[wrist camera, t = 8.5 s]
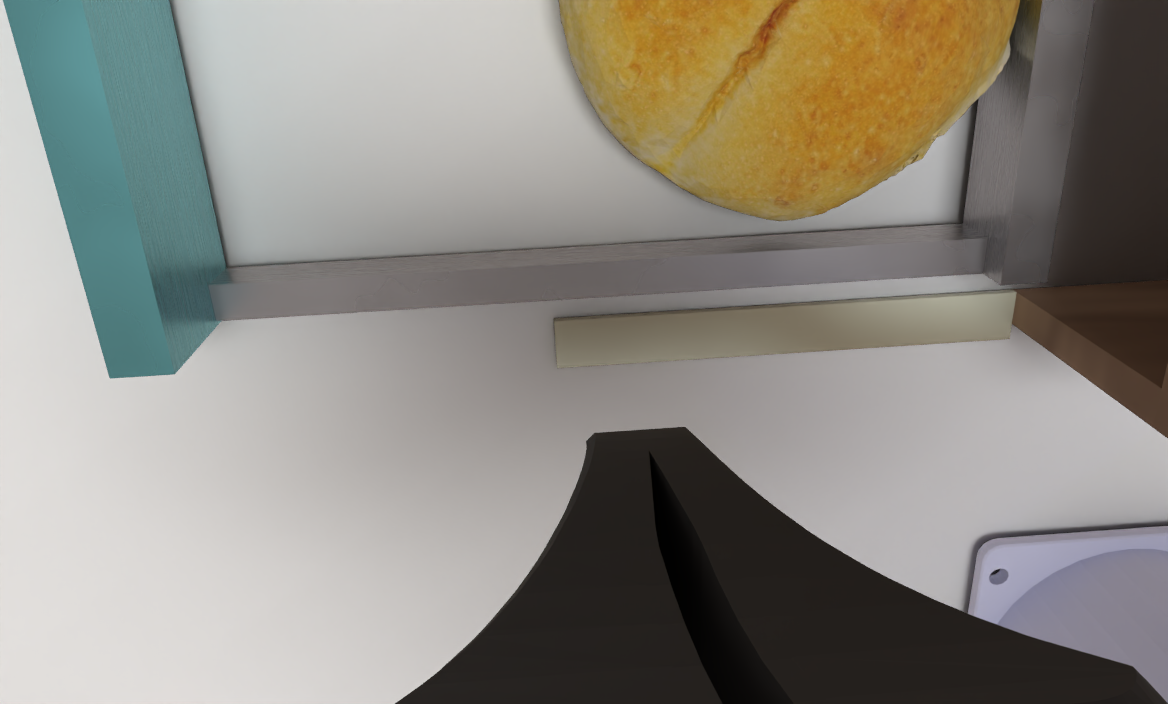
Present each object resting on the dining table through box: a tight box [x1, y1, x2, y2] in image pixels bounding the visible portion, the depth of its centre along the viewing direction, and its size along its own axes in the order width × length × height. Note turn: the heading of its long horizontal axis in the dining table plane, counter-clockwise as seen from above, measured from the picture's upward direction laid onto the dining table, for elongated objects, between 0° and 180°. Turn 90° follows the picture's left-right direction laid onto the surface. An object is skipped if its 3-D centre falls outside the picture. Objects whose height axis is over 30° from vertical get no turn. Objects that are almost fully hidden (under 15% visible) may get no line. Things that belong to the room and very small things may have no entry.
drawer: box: [3, 0, 1094, 378], centre depth 16 cm, size 12×19×4 cm, turn 93°
